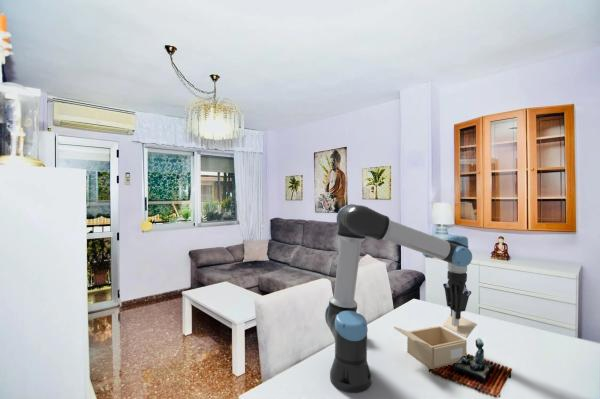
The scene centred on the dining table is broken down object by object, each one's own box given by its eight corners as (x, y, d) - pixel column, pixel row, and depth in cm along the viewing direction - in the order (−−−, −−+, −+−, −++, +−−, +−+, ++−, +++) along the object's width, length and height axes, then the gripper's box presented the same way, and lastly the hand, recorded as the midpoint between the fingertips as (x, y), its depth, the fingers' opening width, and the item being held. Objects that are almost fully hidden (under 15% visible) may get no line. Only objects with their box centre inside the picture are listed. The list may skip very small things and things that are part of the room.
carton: (433, 371, 116) (433, 348, 116) (406, 351, 131) (406, 331, 131) (467, 363, 122) (468, 341, 122) (438, 344, 137) (438, 325, 137)
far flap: (465, 337, 124) (476, 323, 126) (442, 324, 136) (452, 312, 138) (466, 338, 124) (476, 324, 126) (443, 325, 136) (452, 313, 138)
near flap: (428, 346, 118) (413, 341, 115) (406, 332, 129) (393, 327, 127) (428, 344, 118) (414, 339, 115) (407, 331, 129) (394, 326, 127)
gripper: (477, 274, 125) (475, 330, 125) (451, 267, 137) (449, 318, 138) (463, 275, 123) (461, 332, 123) (438, 268, 135) (437, 320, 135)
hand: (455, 325), depth 130 cm, fingers closed
